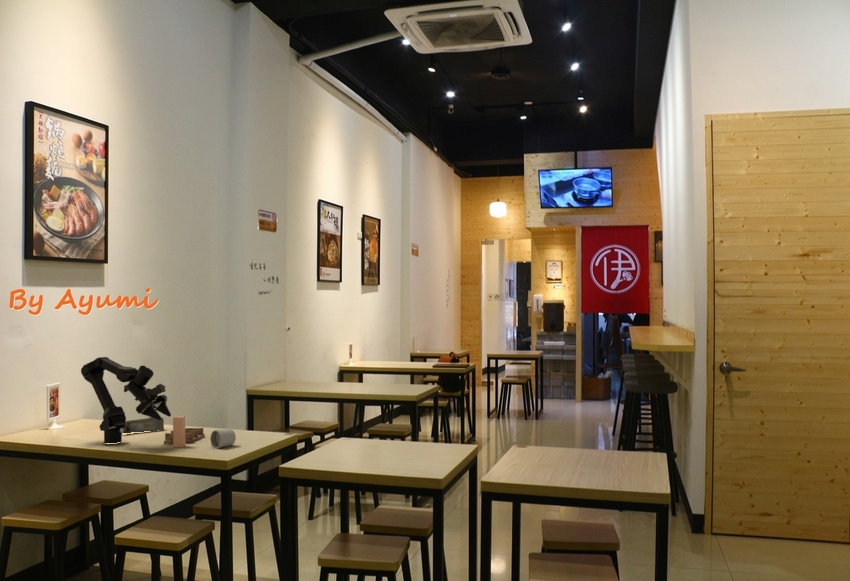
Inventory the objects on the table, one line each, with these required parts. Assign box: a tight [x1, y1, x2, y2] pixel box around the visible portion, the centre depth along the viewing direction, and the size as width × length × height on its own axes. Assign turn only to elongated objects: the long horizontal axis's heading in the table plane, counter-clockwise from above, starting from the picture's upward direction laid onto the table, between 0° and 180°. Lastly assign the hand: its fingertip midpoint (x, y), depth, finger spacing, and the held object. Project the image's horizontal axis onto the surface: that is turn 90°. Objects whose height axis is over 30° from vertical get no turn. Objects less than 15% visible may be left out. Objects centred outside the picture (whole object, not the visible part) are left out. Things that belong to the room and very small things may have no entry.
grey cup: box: [210, 428, 237, 449], centre depth 293 cm, size 11×8×8 cm
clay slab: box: [172, 415, 186, 448], centre depth 295 cm, size 4×3×12 cm
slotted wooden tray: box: [163, 427, 206, 445], centre depth 308 cm, size 12×16×4 cm
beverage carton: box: [120, 417, 165, 433], centre depth 331 cm, size 8×19×7 cm, turn 129°
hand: (165, 417), depth 295 cm, fingers open, 9 cm apart
